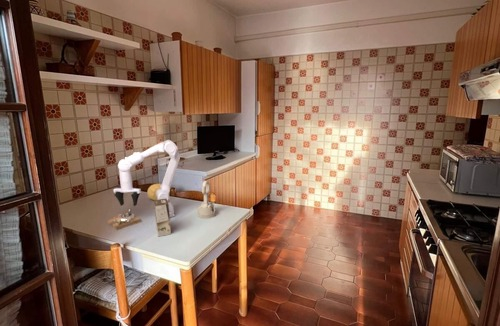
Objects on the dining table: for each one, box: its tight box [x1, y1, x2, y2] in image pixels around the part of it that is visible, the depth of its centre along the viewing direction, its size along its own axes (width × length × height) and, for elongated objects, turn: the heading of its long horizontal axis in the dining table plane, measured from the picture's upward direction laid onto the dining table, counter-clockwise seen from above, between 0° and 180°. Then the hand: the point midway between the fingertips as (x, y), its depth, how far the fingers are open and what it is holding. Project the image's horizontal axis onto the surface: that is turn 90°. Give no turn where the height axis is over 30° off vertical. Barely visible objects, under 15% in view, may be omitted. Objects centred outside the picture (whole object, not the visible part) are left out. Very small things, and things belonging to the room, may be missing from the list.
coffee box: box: [153, 199, 172, 237], centre depth 133 cm, size 9×6×16 cm
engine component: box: [197, 180, 216, 220], centre depth 153 cm, size 11×20×10 cm
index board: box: [106, 215, 142, 231], centre depth 146 cm, size 13×13×4 cm
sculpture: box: [146, 183, 162, 201], centre depth 182 cm, size 12×12×11 cm
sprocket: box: [113, 208, 135, 224], centre depth 145 cm, size 11×11×5 cm
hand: (128, 205), depth 146 cm, fingers open, 7 cm apart
